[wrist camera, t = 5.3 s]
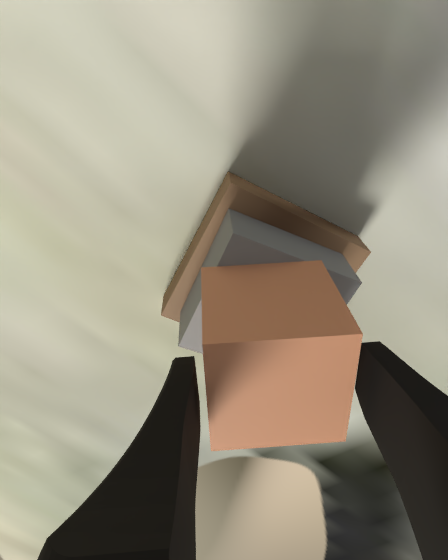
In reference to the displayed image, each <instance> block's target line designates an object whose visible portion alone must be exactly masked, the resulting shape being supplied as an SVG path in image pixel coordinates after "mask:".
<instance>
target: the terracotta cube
mask: <svg viewBox="0 0 448 560" xmlns="http://www.w3.org/2000/svg"><path fill="white" fill-rule="evenodd" d="M201 295H202V348H203V360H204V372H205V384H206V396H207V408H208V420H209V432H210V444H211V451H220V450H233V449H247V448H261V447H275V446H288V445H302V444H316V443H330V442H343V441H346V435H347V429H348V422H349V416H350V410H351V404H352V398H353V391H354V385H355V379H356V373H357V367H358V361H359V354H360V348H361V342H362V336H363V333H362V332H361V330H360V328H359V326H358V325H357V323H356V321H355V319H354V317H353V316H352V314H351V312H350V310H349V308H348V307H347V305H346V303H345V301H344V300H343V298H342V296H341V294H340V292H339V291H338V289H337V287H336V285H335V283H334V282H333V280H332V278H331V276H330V275H329V273H328V271H327V269H326V267H325V266H324V264H323V262H322V260H316V261H299V262H283V263H267V264H251V265H234V266H218V267H217V266H216V267H201Z"/></svg>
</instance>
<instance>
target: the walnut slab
mask: <svg viewBox="0 0 448 560" xmlns="http://www.w3.org/2000/svg"><path fill="white" fill-rule="evenodd" d="M228 208H229V209H232V210H234V211H237V212H239V213H242V214H244V215H247V216H249V217H252V218H254V219H257V220H259V221H262V222H264V223H267V224H269V225H272V226H274V227H277V228H279V229H282V230H284V231H286V232H289V233H291V234H294V235H296V236H299V237H301V238H304V239H306V240H309V241H311V242H314V243H316V244H319V245H321V246H324V247H326V248H329V249H331V250H334V251H336V252H339V253H341V254H343V256H344V257H345V259H346V260H347V262H348V263H349V264H350V266H351V267H352V269H353V270H354V272H355V273H356V272H357V270H358V269H359V268H360V266H361V265H362V264H363V262H364V261H365V260H366V258H367V257H368V255H369V254H370V253H371V251H370V250H369V249H368V248H367V247H366V245H365V244H364V243H363V242H362V241H361V239H360V238H359V237H358V236H356V235H354V234H352V233H350V232H348V231H346V230H344V229H342V228H340V227H338V226H336V225H334V224H332V223H330V222H328V221H326V220H324V219H322V218H320V217H318V216H316V215H314V214H312V213H310V212H308V211H306V210H304V209H302V208H300V207H298V206H296V205H294V204H292V203H290V202H288V201H286V200H284V199H282V198H280V197H278V196H276V195H274V194H272V193H270V192H268V191H266V190H264V189H262V188H260V187H258V186H256V185H254V184H252V183H250V182H248V181H246V180H244V179H242V178H240V177H238V176H236V175H234V174H232V173H230V172H227V174H226V176H225V178H224V180H223V182H222V184H221V186H220V188H219V190H218V192H217V194H216V196H215V198H214V199H213V201H212V203H211V205H210V207H209V209H208V211H207V213H206V215H205V217H204V219H203V221H202V223H201V225H200V227H199V229H198V230H197V232H196V234H195V236H194V238H193V240H192V242H191V244H190V246H189V248H188V250H187V252H186V254H185V256H184V258H183V260H182V261H181V263H180V265H179V267H178V269H177V271H176V273H175V275H174V277H173V279H172V281H171V283H170V285H169V287H168V289H167V291H166V292H165V294H164V297H163V304H162V312H161V315H162V316H164V317H167V318H169V319H172V320H175V321H177V322H180V312H181V310H182V307H183V305H184V303H185V301H186V299H187V297H188V294H189V292H190V290H191V288H192V286H193V284H194V282H195V279H196V277H197V275H198V273H199V271H200V269H201V266H202V264H203V262H204V260H205V258H206V256H207V254H208V251H209V249H210V247H211V245H212V243H213V241H214V238H215V236H216V234H217V232H218V230H219V228H220V226H221V223H222V221H223V219H224V217H225V215H226V213H227V210H228Z"/></svg>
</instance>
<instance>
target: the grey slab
mask: <svg viewBox="0 0 448 560" xmlns="http://www.w3.org/2000/svg"><path fill="white" fill-rule="evenodd" d="M316 260H322V262H323V264H324V266H325V267H326V269H327V271H328V273H329V275H330V276H331V278H332V280H333V282H334V283H335V285H336V287H337V289H338V291H339V292H340V294H341V296H342V298H343V300H344V301H345V303H346V305H347V304H348V302H349V301H350V299H351V298H352V296H353V295H354V293H355V292H356V291H357V289H358V288H359V286H360V285H361V283H362V282H361V281H360V279H359V278H358V276H357V275H356V273H355V272H354V270H353V269H352V267H351V266H350V264H349V263H348V262H347V260H346V259H345V257H344V256H343V254H341V253H339V252H336V251H334V250H331V249H329V248H326V247H324V246H321V245H319V244H316V243H314V242H311V241H309V240H306V239H304V238H301V237H299V236H296V235H294V234H291V233H289V232H286V231H284V230H282V229H279V228H277V227H274V226H272V225H269V224H267V223H264V222H262V221H259V220H257V219H254V218H252V217H249V216H247V215H244V214H242V213H239V212H237V211H234V210H232V209H229V208H228V210H227V213H226V215H225V217H224V219H223V221H222V223H221V226H220V228H219V230H218V232H217V234H216V236H215V238H214V241H213V243H212V245H211V247H210V249H209V251H208V254H207V256H206V258H205V260H204V262H203V264H202V266H201V267H216V266H217V267H218V266H234V265H251V264H267V263H283V262H299V261H316ZM178 346H179V347H182V348H185V349H189V350H192V351H195V352H199V353H202V354H203V348H202V295H201V269H200V271H199V273H198V275H197V277H196V279H195V282H194V284H193V286H192V288H191V290H190V292H189V294H188V297H187V299H186V301H185V303H184V305H183V307H182V310H181V312H180V326H179V343H178Z"/></svg>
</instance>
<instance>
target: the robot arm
mask: <svg viewBox="0 0 448 560" xmlns="http://www.w3.org/2000/svg"><path fill="white" fill-rule="evenodd" d="M355 390H356V393H357V397H358V400H359V403H360V406H361V409H362V412H363V415H364V417H365V420H366V422H367V424H368V426H369V428H370V430H371V432H372V435H373V437H374V439H375V441H376V443H377V445H378V447H379V449H380V451H381V453H382V455H383V458H384V460H385V462H386V464H387V466H388V468H389V470H390V472H391V474H392V476H393V478H394V481H395V483H396V485H397V488H398V490H399V492H400V495H401V498H402V501H403V503H404V506H405V509H406V512H407V514H408V517H409V520H410V523H411V526H412V528H413V531H414V534H415V537H416V540H417V543H418V546H419V549H420V552H421V555H422V558H423V560H448V396H447V395H446V394H444V393H443V392H442V391H440V390H439V389H438V388H436V387H435V386H434V385H432V384H431V383H430V382H428V381H427V380H426V379H425V378H423V377H422V376H421V375H420V374H418V373H417V372H416V371H415V370H413V369H412V368H411V367H410V366H409V365H407V364H406V363H405V362H404V361H403V360H401V359H400V358H399V357H398V356H397V355H395V354H394V353H393V352H392V351H391V350H389V349H388V348H387V347H386V346H385V345H383V344H382V343H381V342H380V341H379V342H366V343H361V349H360V356H359V363H358V370H357V377H356V384H355ZM199 443H200V401H199V393H198V384H197V376H196V367H195V358H194V356H191V357H179V358H175V359H174V360H173V361H172V365H171V368H170V371H169V374H168V376H167V379H166V381H165V383H164V386H163V388H162V390H161V392H160V394H159V396H158V398H157V400H156V402H155V404H154V406H153V408H152V410H151V412H150V414H149V415H148V417H147V419H146V421H145V422H144V424H143V426H142V428H141V429H140V431H139V432H138V434H137V436H136V437H135V439H134V440H133V442H132V443H131V445H130V446H129V448H128V449H127V450H126V452H125V453H124V455H123V456H122V457H121V459H120V460H119V461H118V463H117V464H116V465H115V467H114V468H113V469H112V471H111V472H110V473H109V474H108V475H107V477H106V478H105V479H104V480H103V482H102V483H101V484H100V485H99V486H98V487H97V488H96V489H95V490H94V492H93V493H92V494H91V495H90V496H89V497H88V498H87V499H86V500H85V502H84V503H83V504H82V505H81V506H80V507H79V508H78V509H77V510H76V511H75V512H74V513H73V514H72V515H71V516H70V517H69V518H68V519H67V520H66V521H65V522H64V523H63V524H62V525H61V526H60V527H59V528H58V529H56V530H55V531H54V532H53V533H52V534H51V535H50V536H49V537H48V538H47V540H46V542H45V544H44V546H43V548H42V550H41V552H40V555H39V557H38V560H196V542H195V498H196V497H195V496H196V482H197V470H198V457H199Z"/></svg>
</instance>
